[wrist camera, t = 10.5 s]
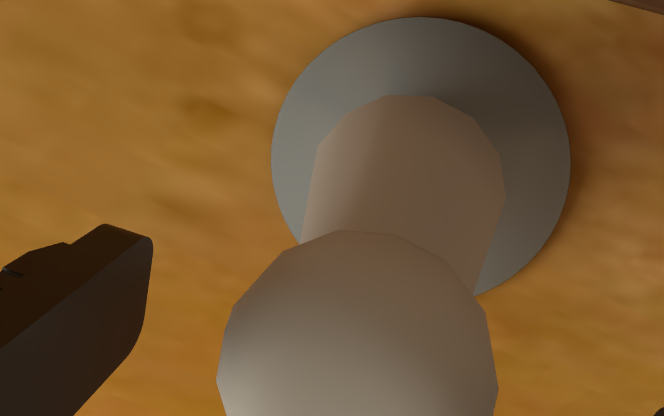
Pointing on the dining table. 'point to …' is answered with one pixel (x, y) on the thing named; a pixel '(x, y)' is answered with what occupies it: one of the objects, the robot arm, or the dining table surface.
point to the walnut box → (645, 5)
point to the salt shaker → (377, 277)
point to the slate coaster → (453, 89)
